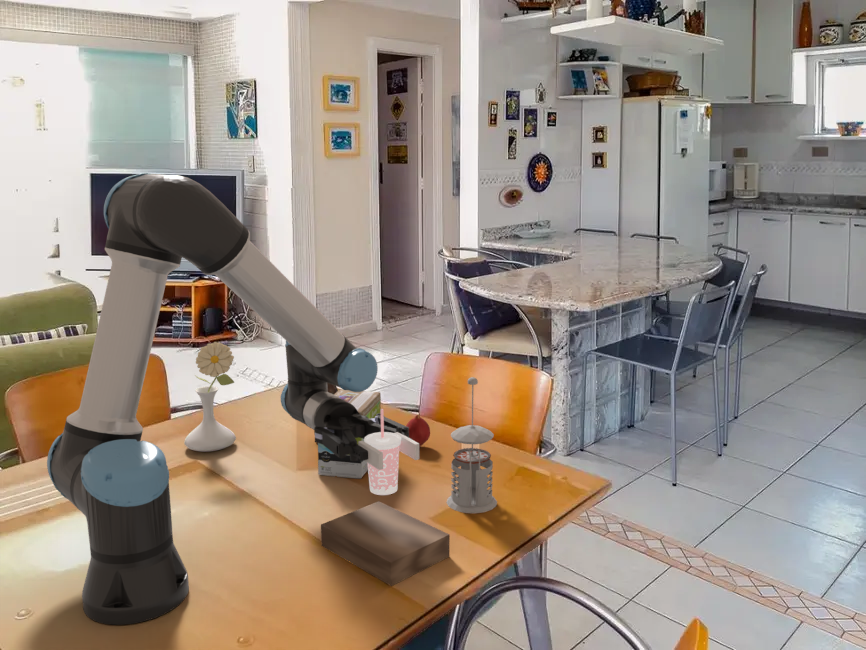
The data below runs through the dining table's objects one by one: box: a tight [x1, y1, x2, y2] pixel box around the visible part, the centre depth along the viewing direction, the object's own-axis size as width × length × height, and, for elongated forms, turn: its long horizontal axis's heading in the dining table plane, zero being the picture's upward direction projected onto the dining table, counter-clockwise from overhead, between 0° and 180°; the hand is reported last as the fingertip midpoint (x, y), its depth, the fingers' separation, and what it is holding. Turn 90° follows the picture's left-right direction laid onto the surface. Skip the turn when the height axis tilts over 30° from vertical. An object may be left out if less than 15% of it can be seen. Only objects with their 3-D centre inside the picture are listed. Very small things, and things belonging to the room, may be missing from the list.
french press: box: [446, 376, 498, 514], centre depth 149 cm, size 10×12×25 cm
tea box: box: [317, 389, 382, 479], centre depth 170 cm, size 15×10×15 cm, turn 168°
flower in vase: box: [183, 341, 237, 452], centre depth 179 cm, size 13×11×25 cm
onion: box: [405, 413, 431, 448], centre depth 180 cm, size 6×6×8 cm
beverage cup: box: [364, 408, 401, 496], centre depth 130 cm, size 6×6×14 cm
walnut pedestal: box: [320, 500, 450, 587], centre depth 134 cm, size 13×18×4 cm
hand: (399, 456), depth 126 cm, fingers closed on beverage cup, 6 cm apart
